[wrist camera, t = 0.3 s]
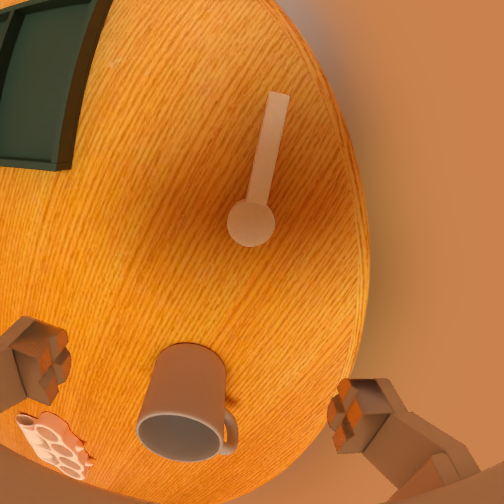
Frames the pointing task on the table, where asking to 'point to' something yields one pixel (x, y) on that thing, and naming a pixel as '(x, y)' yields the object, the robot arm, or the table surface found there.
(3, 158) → the tray
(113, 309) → the table surface
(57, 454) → the knuckle duster
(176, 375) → the mug
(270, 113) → the spoon
